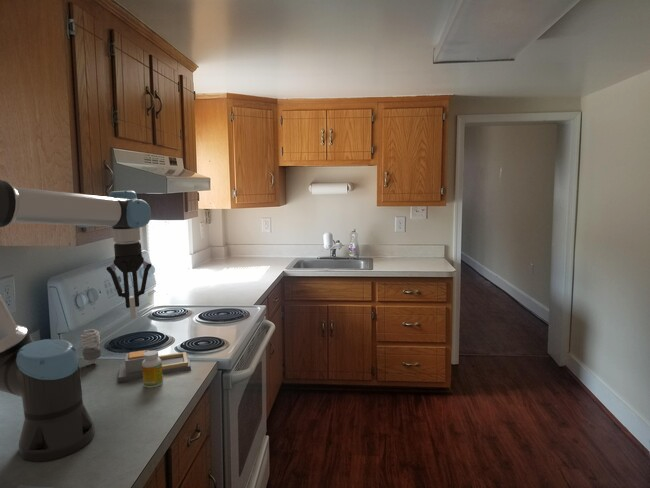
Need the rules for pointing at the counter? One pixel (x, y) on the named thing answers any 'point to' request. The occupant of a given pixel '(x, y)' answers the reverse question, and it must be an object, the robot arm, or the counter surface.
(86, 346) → the light bulb
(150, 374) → the supplement bottle
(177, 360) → the base
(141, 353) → the switch button
